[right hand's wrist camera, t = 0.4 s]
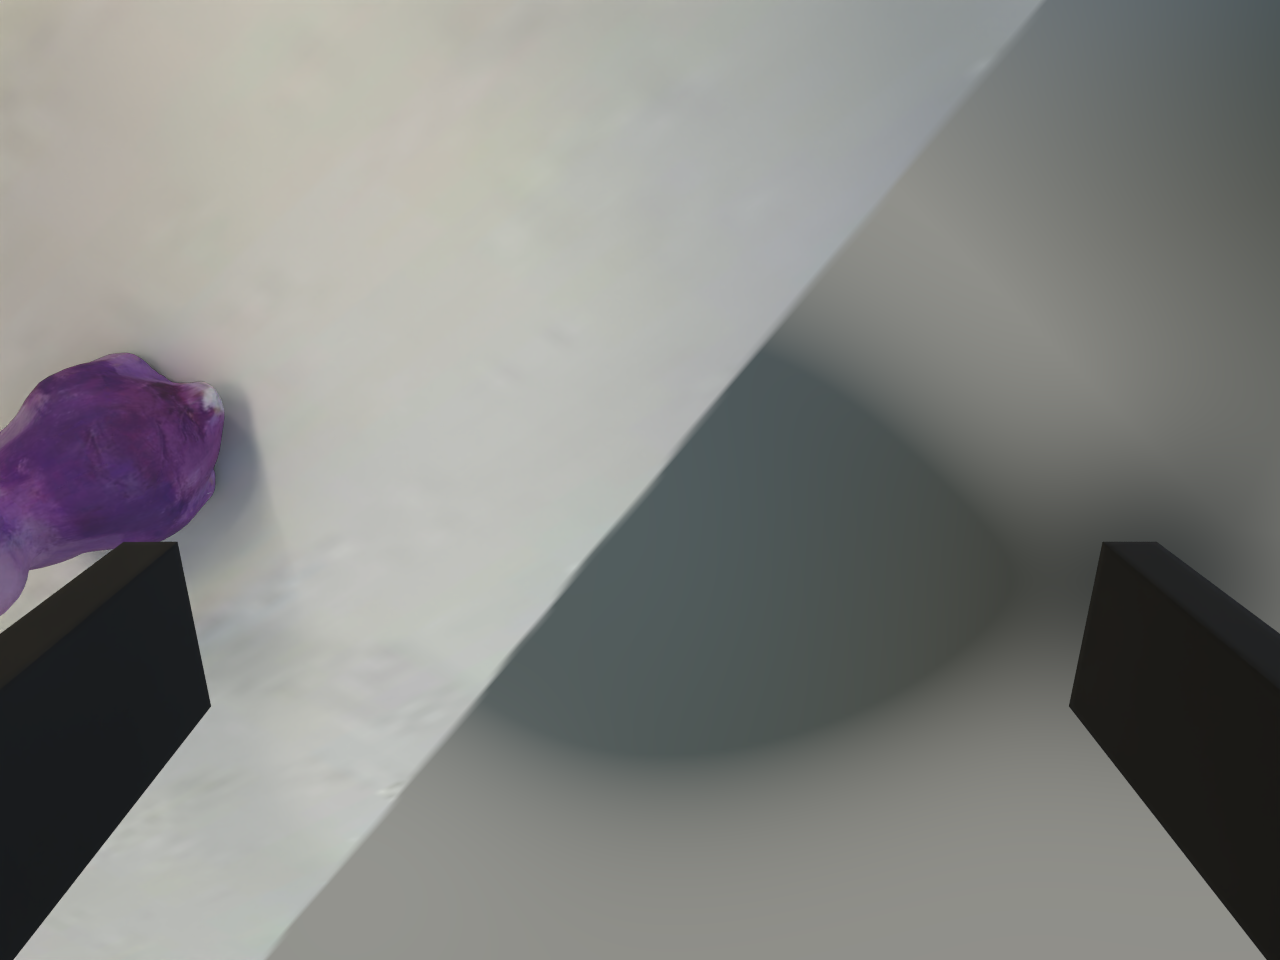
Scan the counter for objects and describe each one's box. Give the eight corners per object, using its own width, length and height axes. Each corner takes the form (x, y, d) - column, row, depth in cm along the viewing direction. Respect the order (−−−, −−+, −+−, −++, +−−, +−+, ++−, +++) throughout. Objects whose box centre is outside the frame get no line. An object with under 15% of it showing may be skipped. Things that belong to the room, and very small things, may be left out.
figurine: (30, 528, 42) (-275, 714, 28) (31, 325, 39) (-316, 420, 25) (226, 571, 43) (25, 772, 29) (244, 375, 40) (26, 494, 25)
